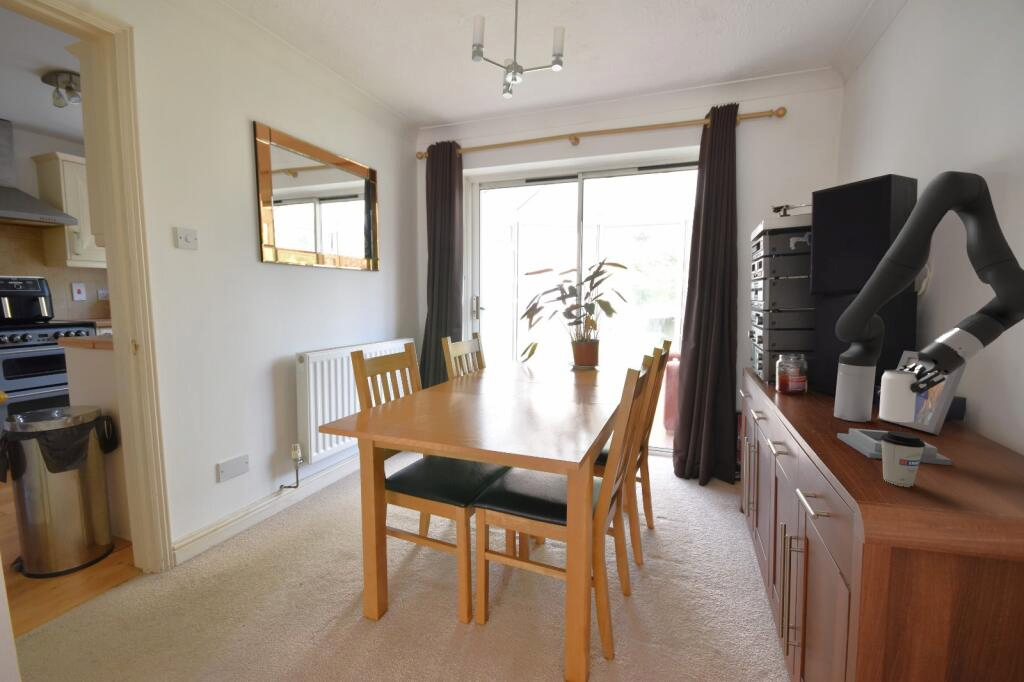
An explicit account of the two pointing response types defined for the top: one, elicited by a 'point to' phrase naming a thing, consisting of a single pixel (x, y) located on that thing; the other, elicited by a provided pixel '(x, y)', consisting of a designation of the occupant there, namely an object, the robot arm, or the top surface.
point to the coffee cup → (901, 457)
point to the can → (897, 396)
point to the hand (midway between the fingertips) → (886, 398)
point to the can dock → (872, 445)
